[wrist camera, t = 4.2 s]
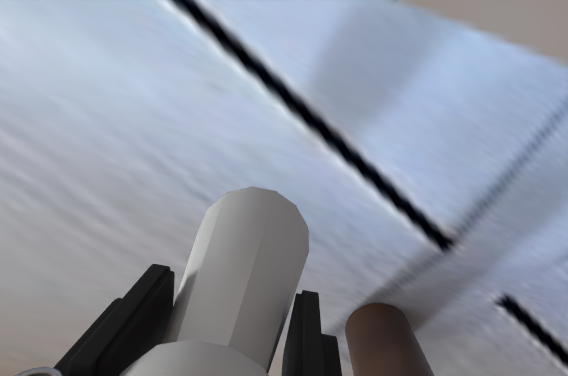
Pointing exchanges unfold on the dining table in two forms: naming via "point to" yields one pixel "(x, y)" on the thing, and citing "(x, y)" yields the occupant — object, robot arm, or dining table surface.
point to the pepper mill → (384, 343)
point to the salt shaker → (233, 289)
